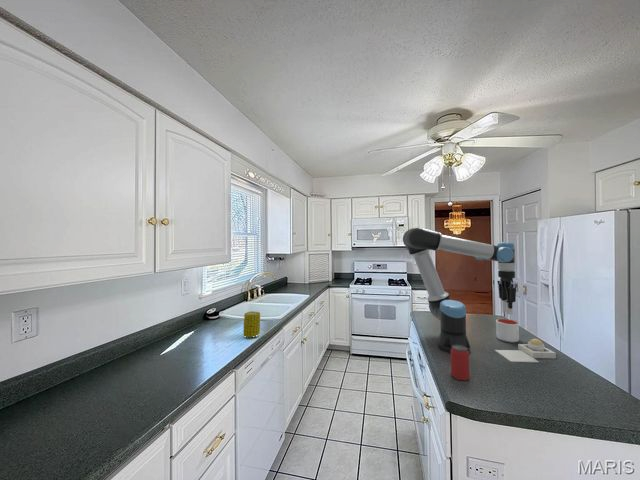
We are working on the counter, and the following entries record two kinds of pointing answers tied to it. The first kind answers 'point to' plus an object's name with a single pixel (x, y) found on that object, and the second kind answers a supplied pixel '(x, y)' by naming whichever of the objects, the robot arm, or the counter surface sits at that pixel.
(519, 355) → the pad
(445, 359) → the counter surface
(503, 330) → the cup
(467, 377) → the beer can
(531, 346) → the dome
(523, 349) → the dome base
